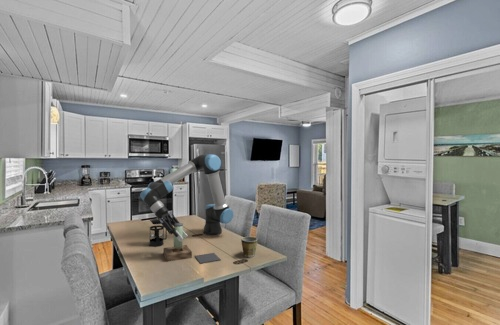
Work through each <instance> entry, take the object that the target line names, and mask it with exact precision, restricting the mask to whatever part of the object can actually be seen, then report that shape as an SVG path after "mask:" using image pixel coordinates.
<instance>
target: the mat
mask: <svg viewBox="0 0 500 325" xmlns="http://www.w3.org/2000/svg"><path fill="white" fill-rule="evenodd" d="M194 258H195V259H196V261H198V263H199V264H200V265H202V264H208V263H214V262H219V261H222V260H221V258H220V257H219V256H218V255H217V254H216V253H215V252H209V253H204V254H197V255H194Z"/></svg>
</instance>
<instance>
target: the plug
mask: <svg viewBox="0 0 500 325" xmlns="http://www.w3.org/2000/svg"><path fill="white" fill-rule="evenodd" d="M173 227H174V229H175V231H176V230H177V231H178V233H179V234H180V235H181V236H182V237H183V231H184V223H183V222H179V223H175V224H174V226H173ZM182 245H183V240H182V241H181V242H180V241H179V240H178V239H177V238H176V237H175V236H174V235H173V247H174V248H176V249H178V248H182Z"/></svg>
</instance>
